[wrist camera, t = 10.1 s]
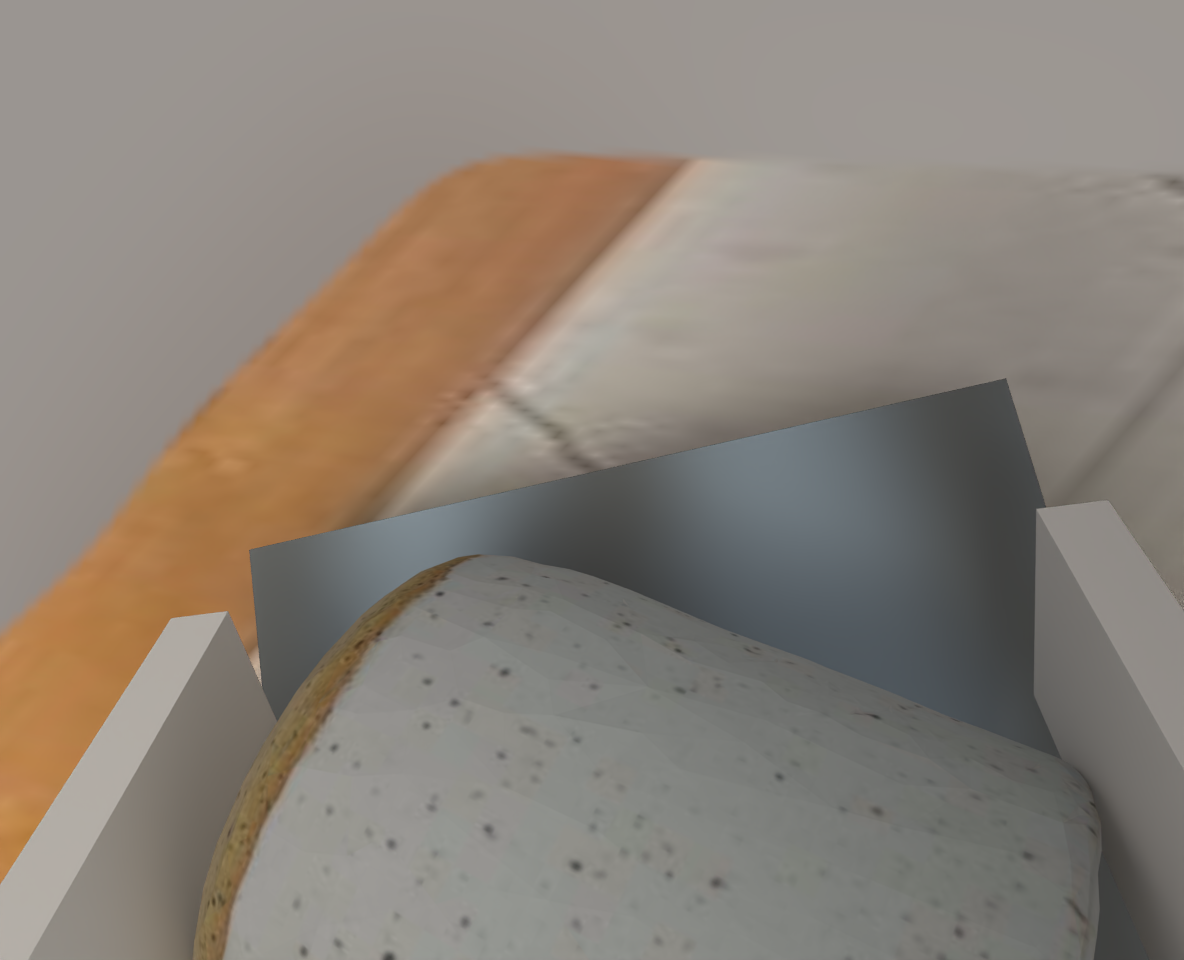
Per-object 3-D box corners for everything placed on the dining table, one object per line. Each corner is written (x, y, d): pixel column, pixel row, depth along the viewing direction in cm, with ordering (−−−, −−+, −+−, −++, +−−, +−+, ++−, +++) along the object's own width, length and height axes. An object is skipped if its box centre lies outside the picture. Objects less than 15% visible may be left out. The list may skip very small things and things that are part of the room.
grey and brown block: (970, 442, 24) (1027, 345, 19) (1191, 1189, 20) (1351, 1360, 14) (346, 579, 26) (222, 530, 20) (431, 1292, 22) (305, 1480, 16)
